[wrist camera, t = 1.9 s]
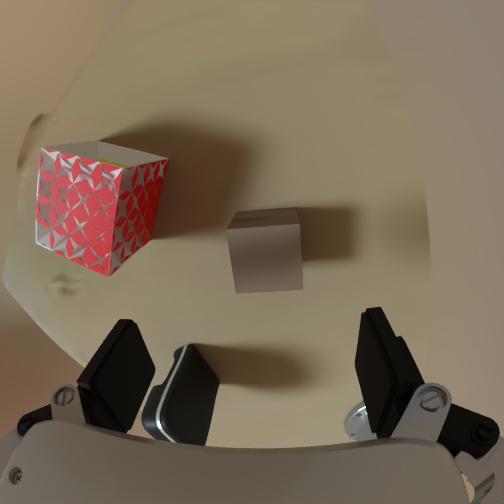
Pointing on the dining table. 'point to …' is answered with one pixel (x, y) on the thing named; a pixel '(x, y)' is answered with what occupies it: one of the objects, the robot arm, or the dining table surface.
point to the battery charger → (182, 401)
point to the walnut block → (266, 250)
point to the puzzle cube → (97, 202)
